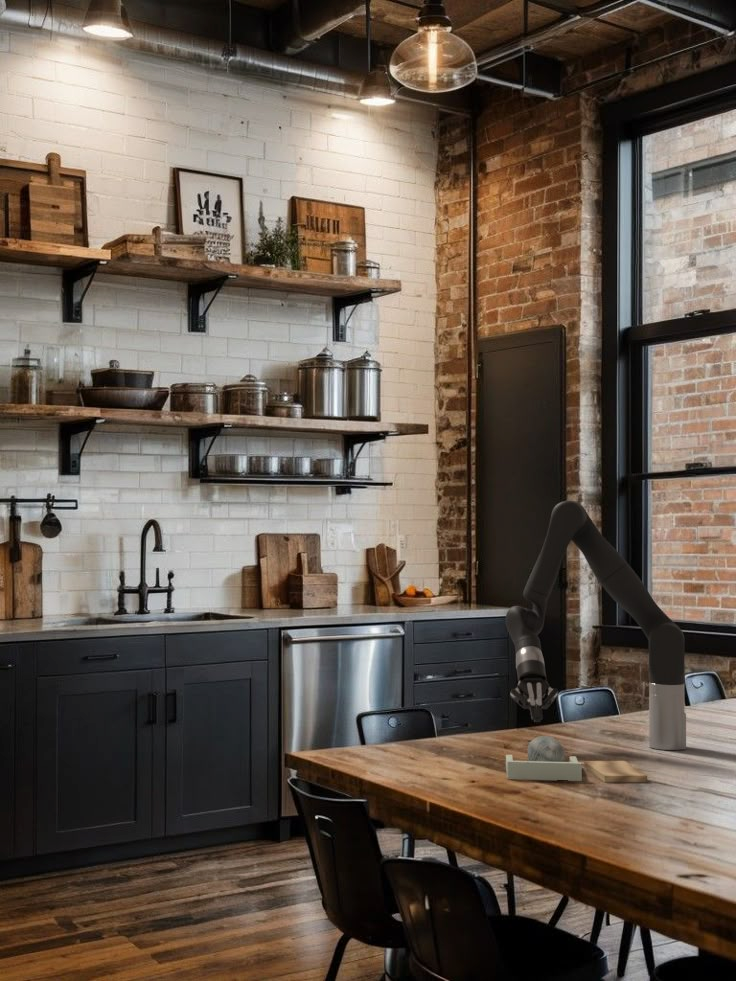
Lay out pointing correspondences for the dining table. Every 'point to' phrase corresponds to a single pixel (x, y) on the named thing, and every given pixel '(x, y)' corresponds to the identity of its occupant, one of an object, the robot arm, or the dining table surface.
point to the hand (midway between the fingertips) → (537, 720)
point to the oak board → (615, 771)
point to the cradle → (544, 770)
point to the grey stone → (545, 750)
